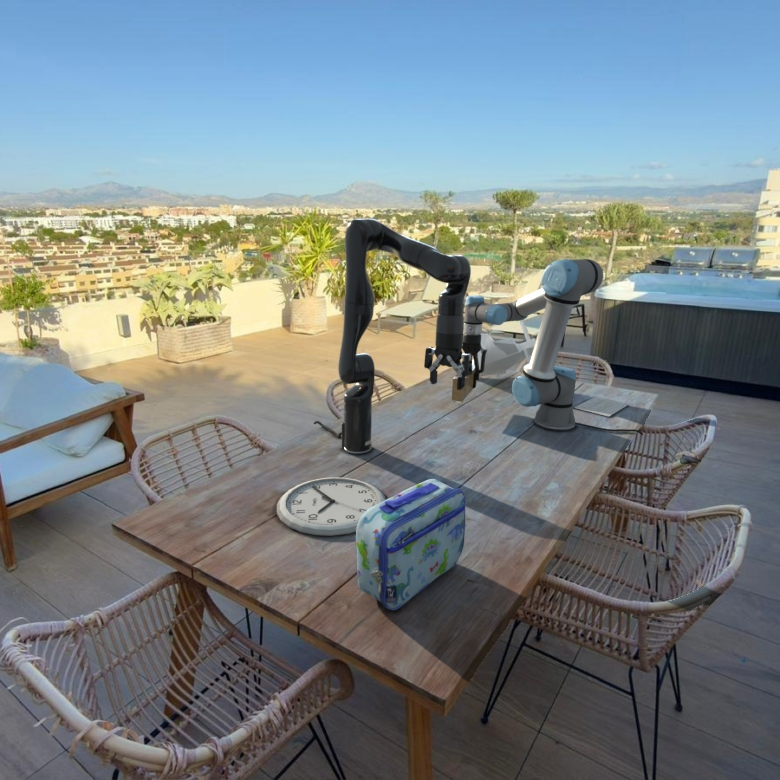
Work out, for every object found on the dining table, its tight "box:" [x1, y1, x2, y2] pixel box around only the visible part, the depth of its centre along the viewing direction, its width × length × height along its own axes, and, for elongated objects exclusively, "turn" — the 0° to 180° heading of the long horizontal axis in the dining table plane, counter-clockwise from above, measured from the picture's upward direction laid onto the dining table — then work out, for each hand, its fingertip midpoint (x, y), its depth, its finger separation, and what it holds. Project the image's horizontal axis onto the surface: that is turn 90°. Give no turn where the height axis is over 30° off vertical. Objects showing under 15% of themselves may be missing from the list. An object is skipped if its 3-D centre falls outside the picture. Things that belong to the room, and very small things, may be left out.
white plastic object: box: [472, 319, 537, 377], centre depth 259 cm, size 37×45×31 cm
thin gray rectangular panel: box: [573, 396, 629, 418], centre depth 226 cm, size 21×1×15 cm
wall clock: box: [276, 476, 387, 537], centre depth 142 cm, size 30×2×30 cm
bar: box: [451, 366, 476, 403], centre depth 217 cm, size 23×4×9 cm, turn 158°
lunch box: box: [355, 478, 466, 611], centre depth 110 cm, size 26×11×21 cm, turn 134°
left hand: (446, 386), depth 149 cm, fingers open, 8 cm apart
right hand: (468, 386), depth 225 cm, fingers closed on bar, 4 cm apart
